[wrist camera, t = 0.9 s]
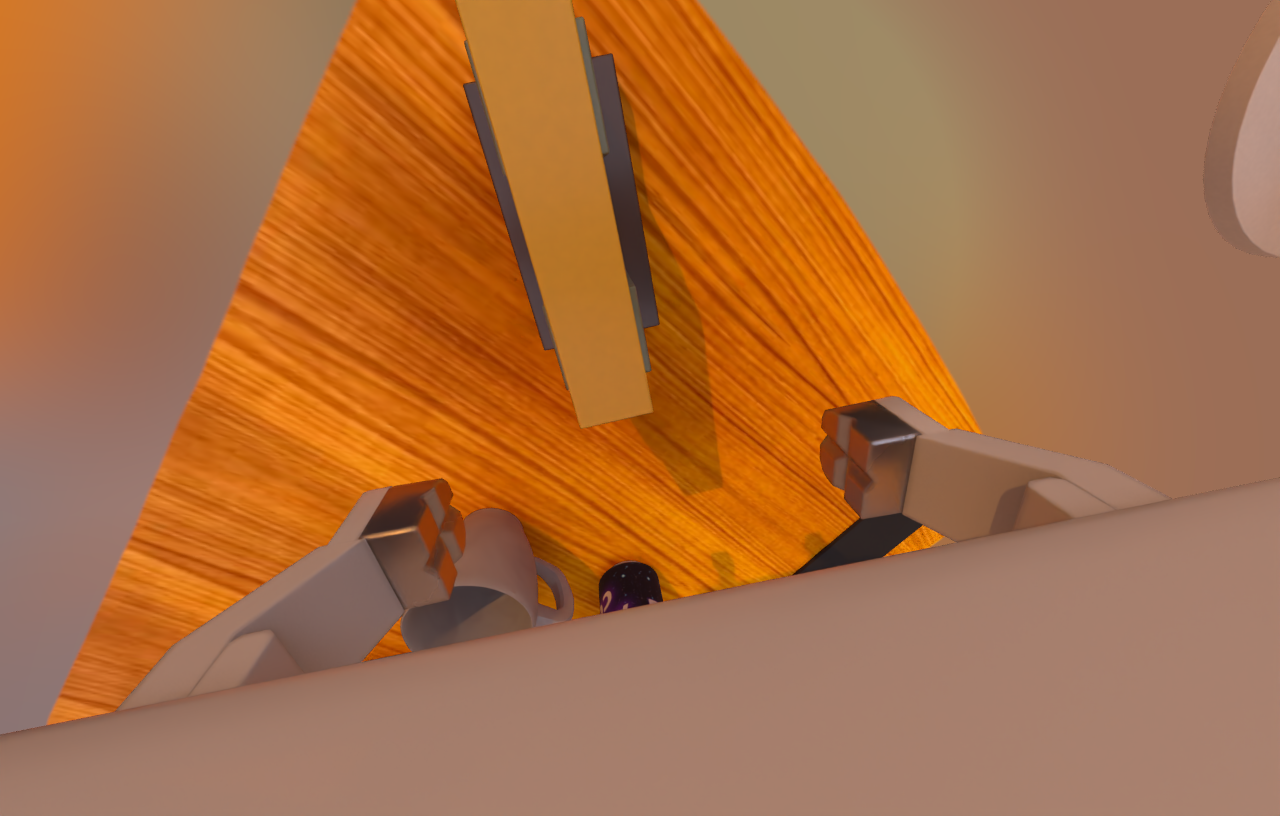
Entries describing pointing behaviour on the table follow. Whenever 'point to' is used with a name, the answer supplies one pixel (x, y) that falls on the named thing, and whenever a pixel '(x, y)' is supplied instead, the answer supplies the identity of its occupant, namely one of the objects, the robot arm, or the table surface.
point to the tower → (620, 188)
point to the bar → (561, 196)
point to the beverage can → (628, 587)
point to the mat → (863, 542)
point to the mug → (490, 588)
